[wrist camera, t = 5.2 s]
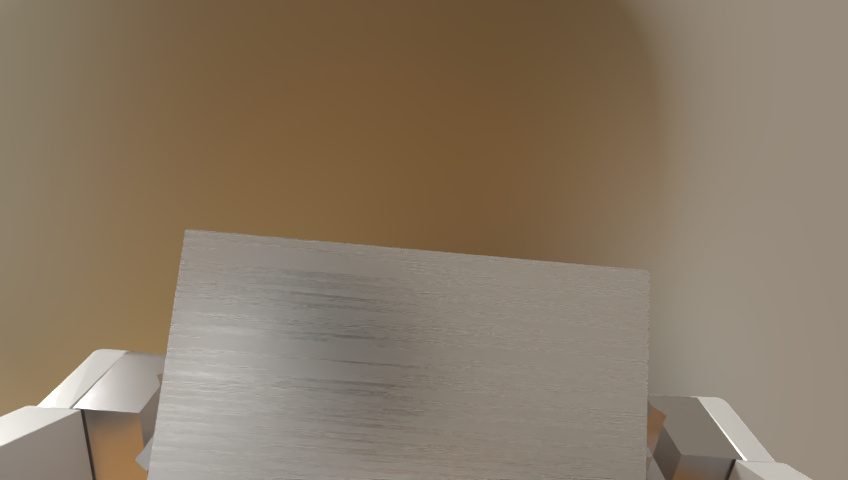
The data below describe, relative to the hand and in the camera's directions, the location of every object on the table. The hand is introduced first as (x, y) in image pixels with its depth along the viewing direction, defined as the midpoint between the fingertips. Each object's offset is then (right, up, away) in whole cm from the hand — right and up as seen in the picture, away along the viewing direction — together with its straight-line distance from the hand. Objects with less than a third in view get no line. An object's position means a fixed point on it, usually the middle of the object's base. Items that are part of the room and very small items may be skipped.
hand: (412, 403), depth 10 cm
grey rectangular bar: (-1, -3, +5) cm, 6 cm away
